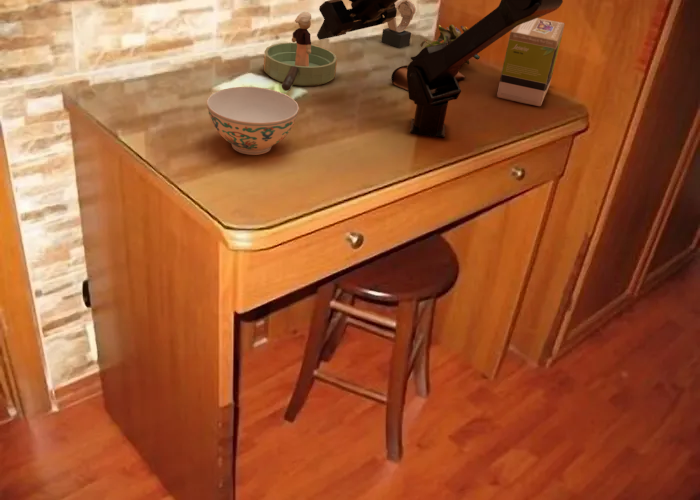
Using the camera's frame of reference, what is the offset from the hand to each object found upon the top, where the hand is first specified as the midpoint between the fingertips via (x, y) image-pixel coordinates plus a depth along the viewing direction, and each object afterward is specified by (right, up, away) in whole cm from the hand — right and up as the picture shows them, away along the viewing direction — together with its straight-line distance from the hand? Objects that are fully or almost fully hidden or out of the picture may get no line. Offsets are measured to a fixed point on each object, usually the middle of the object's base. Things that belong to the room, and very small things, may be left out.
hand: (333, 33), depth 147 cm
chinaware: (-13, -26, -22) cm, 37 cm away
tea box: (+42, -9, +16) cm, 46 cm away
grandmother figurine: (-7, -6, +9) cm, 13 cm away
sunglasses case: (+21, -6, +15) cm, 26 cm away
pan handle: (-8, -10, -2) cm, 14 cm away
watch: (+15, +8, +35) cm, 39 cm away
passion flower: (+26, 0, +26) cm, 37 cm away
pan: (-7, -6, +10) cm, 13 cm away
